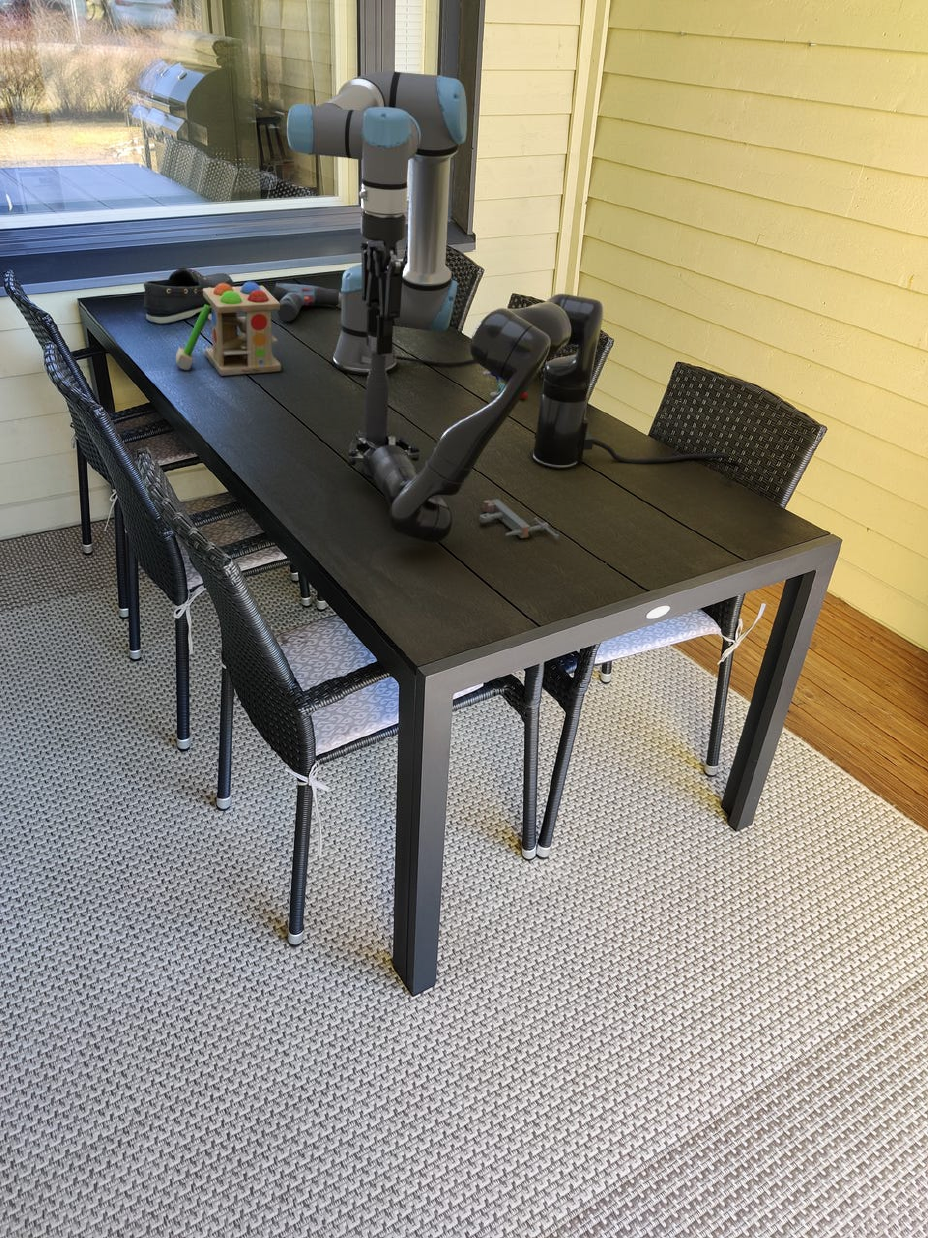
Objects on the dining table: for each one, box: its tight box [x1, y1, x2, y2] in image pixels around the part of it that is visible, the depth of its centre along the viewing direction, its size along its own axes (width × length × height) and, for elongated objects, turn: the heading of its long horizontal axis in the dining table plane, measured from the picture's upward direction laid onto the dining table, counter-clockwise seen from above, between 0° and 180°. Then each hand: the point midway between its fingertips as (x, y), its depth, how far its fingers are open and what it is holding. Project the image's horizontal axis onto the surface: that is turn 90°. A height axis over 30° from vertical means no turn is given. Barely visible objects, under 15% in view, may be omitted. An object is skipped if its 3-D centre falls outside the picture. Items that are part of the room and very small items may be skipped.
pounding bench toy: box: [174, 281, 282, 377], centre depth 225 cm, size 23×14×18 cm, turn 116°
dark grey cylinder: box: [363, 352, 390, 478], centre depth 184 cm, size 4×4×24 cm
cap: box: [368, 331, 377, 352], centre depth 176 cm, size 4×4×3 cm
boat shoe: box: [143, 267, 235, 324], centre depth 260 cm, size 13×33×10 cm, turn 147°
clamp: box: [478, 498, 560, 540], centre depth 176 cm, size 15×2×10 cm
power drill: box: [274, 282, 342, 322], centre depth 265 cm, size 5×19×20 cm
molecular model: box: [481, 370, 528, 400], centre depth 225 cm, size 12×10×10 cm
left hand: (379, 348), depth 177 cm, fingers closed on cap, 4 cm apart
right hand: (371, 434), depth 189 cm, fingers closed on dark grey cylinder, 4 cm apart
